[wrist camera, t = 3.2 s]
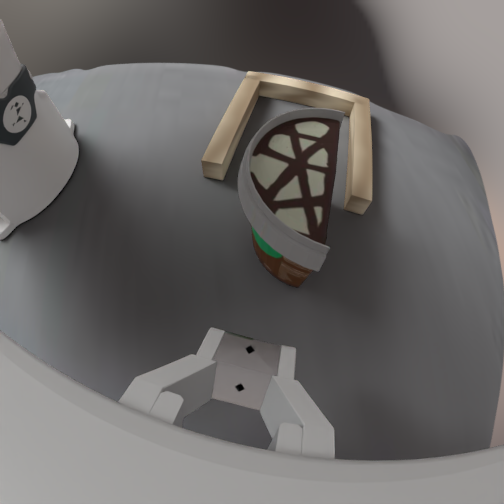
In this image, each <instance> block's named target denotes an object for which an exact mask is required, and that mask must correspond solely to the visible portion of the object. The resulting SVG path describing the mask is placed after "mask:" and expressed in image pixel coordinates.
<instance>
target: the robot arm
mask: <svg viewBox="0 0 504 504" xmlns="http://www.w3.org/2000/svg"><path fill="white" fill-rule="evenodd" d="M73 133H74V123H73V122H72V120H71V119H65V120H64V119H63V117H62V116H61V114H60V113H59V111H58V110H57V108H56V107H55V105H54V104H53V102H52V101H51V99H50V98H49V96H48V94H47V93H46V92H45V91H43V90H36V85H35V83H34V81H33V79H32V75H31V73H30V72H29V71H28V70H27V68H26V66H25V65H24V64H20V62H19V60H18V58H17V56H16V54H15V51H14V49H13V47H12V44H11V42H10V40H9V37H8V35H7V32H6V30H5V27H4V25H3V22H2V20H1V19H0V240H2V239H4V238H5V237H7V236H8V235H9V234H10V233H11V232H12V231H13V230H14V229H15V228H16V226H18V225H19V224H21V223H23V222H25V221H27V220H29V219H31V218H32V217H34V216H35V215H37V214H38V213H39V212H41V211H42V210H43V209H44V208H46V207H47V206H48V205H49V204H50V203H51V202H52V201H53V200H54V199H55V197H56V196H57V195H58V194H59V193H60V191H61V190H62V189H63V187H64V186H65V185H66V183H67V181H68V180H69V178H70V176H71V175H72V173H73V171H74V168H75V166H76V163H77V160H78V155H79V147H78V143H77V141H76V139H75V137H74V135H73ZM295 362H296V348H295V347H290V346H284V345H277V344H273V343H268V342H264V341H260V340H256V339H252V338H249V337H245V336H241V335H238V334H234V333H231V332H227V331H223V330H220V329H216V328H213V327H211V328H210V329H209V331H208V333H207V335H206V336H205V338H204V340H203V342H202V344H201V346H200V348H199V350H198V352H197V354H196V355H193V354H191V355H188V356H186V357H184V358H181V359H179V360H177V361H174V362H172V363H170V364H167V365H165V366H162V367H160V368H157V369H155V370H153V371H150V372H148V373H145V374H143V375H140V376H137V377H135V378H134V380H133V381H132V383H131V384H130V386H129V387H128V388H127V390H126V391H125V393H124V394H123V396H122V397H121V398H120V400H119V401H118V402H117V401H114V400H112V399H110V398H108V397H106V396H104V395H102V394H100V393H98V392H96V391H94V390H92V389H90V388H88V387H87V386H85V385H83V384H81V383H79V382H77V381H76V380H74V379H72V378H70V377H69V376H67V375H65V374H64V373H62V372H60V371H59V370H57V369H55V368H54V367H52V366H50V365H49V364H47V363H46V362H44V361H43V360H41V359H40V358H38V357H37V356H35V355H34V354H32V353H31V352H29V351H28V350H26V349H25V348H24V347H22V346H21V345H19V344H18V343H17V342H15V341H14V340H13V339H11V338H10V337H9V336H7V335H6V334H5V333H4V332H2V331H1V330H0V504H504V445H500V446H496V447H492V448H488V449H483V450H479V451H474V452H468V453H463V454H456V455H450V456H442V457H433V458H423V459H409V460H345V459H335V438H334V428H333V427H332V425H331V424H330V423H329V421H328V420H327V419H326V417H325V416H324V415H323V413H322V412H321V411H320V409H319V408H318V407H317V405H316V404H315V403H314V401H313V400H312V399H311V397H310V396H309V395H308V393H307V392H306V391H305V389H304V388H303V386H302V385H301V384H300V382H299V381H297V380H294V376H295ZM211 398H213V399H217V400H221V401H225V402H229V403H233V404H237V405H241V406H244V407H248V408H252V409H256V410H260V413H261V416H262V418H263V420H264V422H265V425H266V427H267V429H268V431H269V433H270V436H271V438H272V441H271V443H270V445H269V447H268V449H267V450H265V449H259V448H255V447H250V446H245V445H241V444H237V443H233V442H229V441H225V440H221V439H217V438H214V437H210V436H207V435H203V434H200V433H197V432H194V431H191V430H187V429H184V428H183V418H184V417H186V416H187V415H189V414H190V413H192V412H193V411H195V410H196V409H198V408H199V407H201V406H202V405H204V404H205V403H207V402H208V401H209V400H211Z"/></svg>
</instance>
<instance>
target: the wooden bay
mask: <svg viewBox="0 0 504 504" xmlns="http://www.w3.org/2000/svg"><path fill="white" fill-rule="evenodd" d="M259 96H264V97H269V98H275V99H280V100H285V101H290V102H294V103H299V104H303V105H307V106H312V107H316V108H326V109H333V110H338V111H342V112H345V114H344V115H345V116H349V117H350V120H349V146H348V164H347V179H346V191H345V202H344V210H347V211H351V212H354V213H358V214H361V215H363V214H364V212H365V211H366V209H367V208H368V206H369V205H370V203H371V202H372V138H371V119H370V105H369V99H367V98H364V97H361V96H358V95H355V94H351V93H348V92H345V91H341V90H337V89H334V88H330V87H326V86H322V85H318V84H314V83H310V82H305V81H301V80H296V79H291V78H286V77H281V76H275V75H270V74H264V73H257V72H250V71H248V73H247V75H246V77H245V78H244V80H243V82H242V83H241V85H240V87H239V89H238V91H237V92H236V94H235V96H234V98H233V100H232V101H231V103H230V105H229V107H228V109H227V111H226V112H225V114H224V116H223V118H222V120H221V122H220V124H219V126H218V128H217V130H216V132H215V134H214V136H213V138H212V139H211V141H210V143H209V145H208V148H207V150H206V152H205V154H204V156H203V158H202V160H201V162H202V168H203V174H204V177H208V178H213V179H218V180H224V177H225V175H226V172H227V170H228V167H229V165H230V162H231V160H232V158H233V155H234V153H235V150H236V148H237V145H238V143H239V141H240V138H241V136H242V134H243V131H244V129H245V127H246V124H247V122H248V120H249V117H250V115H251V113H252V110H253V108H254V106H255V104H256V101H257V99H258V97H259Z"/></svg>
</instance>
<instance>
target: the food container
mask: <svg viewBox="0 0 504 504" xmlns="http://www.w3.org/2000/svg"><path fill="white" fill-rule="evenodd" d="M344 114H345V112H342V111H338V110H333V109H326V108H303V109H296V110H292V111H288V112H285V113H283V114H280V115H278V116H276V117H274V118H272V119H271V120H269V121H268V122H267V123H266V124H264V125H263V126H262V127H261V128H260V129H259V131H258V132H257V133H256V134H255V136H254V137H253V138H252V139H251V141H250V143H249V144H248V146H247V148H246V151H245V153H244V156H243V159H242V162H241V165H240V169H239V173H238V185H237V186H238V193H239V199H240V202H241V205H242V208H243V211H244V213H245V215H246V217H247V219H248V220H249V222H250V224H251V227H252V238H253V245H254V249H255V252H256V254H257V256H258V258H259V260H260V262H261V263H262V264H263V266H264V267H265V268H266V269H267V270H268V271H269V272H270V273H271V274H272V275H273V276H274V277H276V278H277V279H279V280H280V281H282V282H284V283H286V284H288V285H291V286H294V287H297V288H298V287H299V286H300V285H301V284H302V283H303V281H304V280H305V279H306V278H307V277H308V276H309V274H310V273H311V272H312V271H313V270H314V271H317V272H319V270H320V268H321V266H322V264H323V262H324V260H325V259H326V254H327V252H328V251H329V249H330V246H327V245H325V242H326V239H327V234H326V233H327V226H328V219H329V213H330V207H331V200H332V193H333V187H334V180H335V174H336V164H337V151H338V141H339V129H340V126H341V123H342V120H343V117H344Z"/></svg>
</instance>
